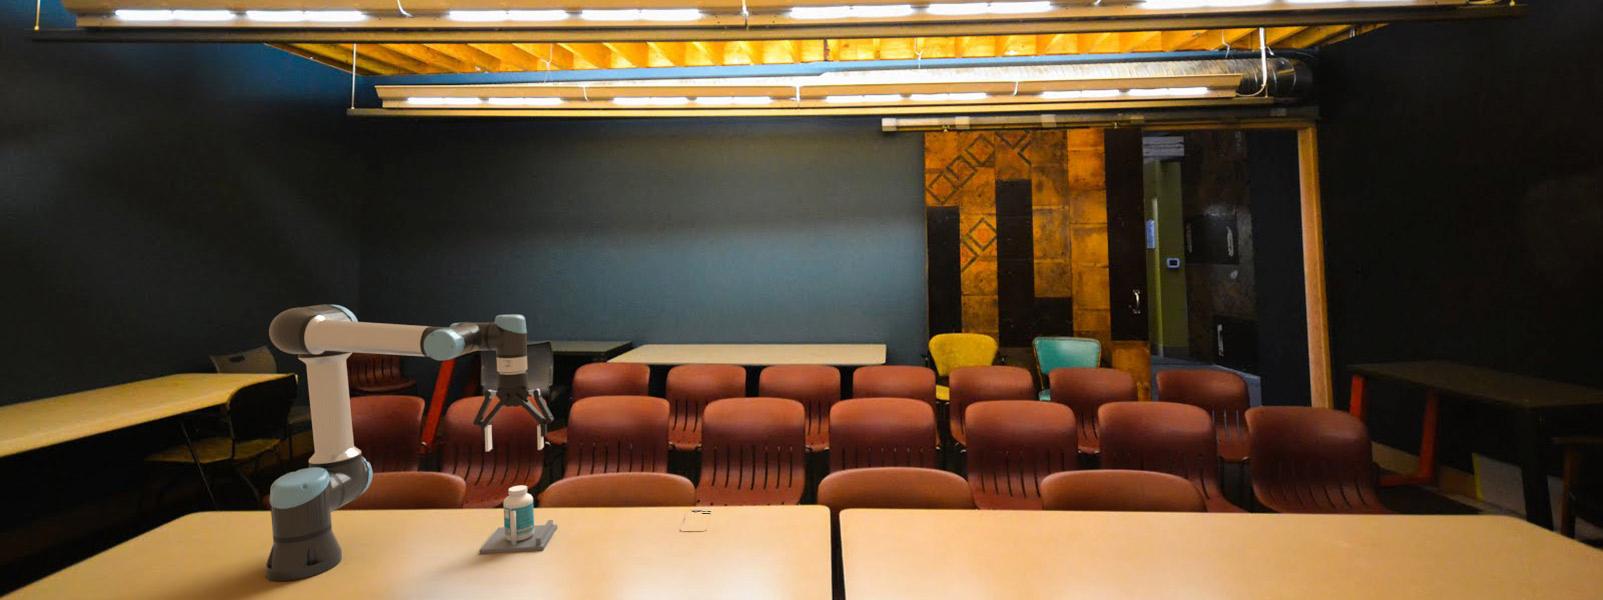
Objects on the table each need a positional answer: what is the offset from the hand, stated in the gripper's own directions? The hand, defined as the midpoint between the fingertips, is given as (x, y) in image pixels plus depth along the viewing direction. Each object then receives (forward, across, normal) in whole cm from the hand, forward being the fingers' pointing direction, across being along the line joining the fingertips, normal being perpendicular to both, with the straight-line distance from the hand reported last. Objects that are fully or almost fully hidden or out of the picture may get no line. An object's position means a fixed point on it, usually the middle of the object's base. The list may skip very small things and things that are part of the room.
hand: (514, 449), depth 176 cm
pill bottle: (+24, +1, -1) cm, 24 cm away
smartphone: (+25, +48, +6) cm, 55 cm away
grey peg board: (+25, +1, -1) cm, 25 cm away
